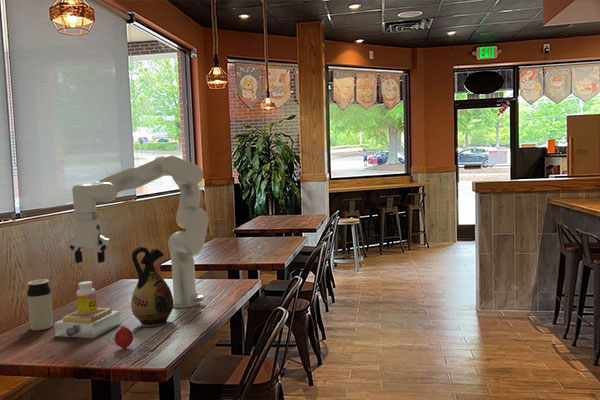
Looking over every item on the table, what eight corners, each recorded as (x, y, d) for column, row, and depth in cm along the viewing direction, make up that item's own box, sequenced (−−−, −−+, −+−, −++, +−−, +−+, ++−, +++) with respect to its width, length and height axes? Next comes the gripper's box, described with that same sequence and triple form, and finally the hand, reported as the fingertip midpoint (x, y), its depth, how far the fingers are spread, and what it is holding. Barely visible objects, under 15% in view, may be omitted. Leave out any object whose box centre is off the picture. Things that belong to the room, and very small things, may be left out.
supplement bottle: (90, 319, 183) (87, 284, 182) (74, 319, 184) (71, 284, 183) (101, 313, 190) (98, 280, 189) (85, 313, 191) (82, 280, 190)
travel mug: (58, 324, 195) (54, 279, 194) (41, 331, 187) (37, 284, 186) (42, 323, 197) (38, 278, 196) (25, 330, 190) (21, 283, 189)
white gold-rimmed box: (120, 323, 193) (119, 307, 192) (89, 340, 175) (88, 321, 175) (84, 322, 197) (83, 306, 196) (51, 338, 179) (49, 320, 179)
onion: (118, 346, 168) (116, 323, 167) (135, 345, 168) (134, 321, 168) (113, 352, 162) (111, 328, 161) (131, 351, 162) (129, 327, 162)
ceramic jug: (161, 315, 202) (157, 241, 200) (182, 322, 191) (177, 244, 189) (121, 325, 190) (115, 247, 188) (140, 334, 179) (134, 251, 177)
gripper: (112, 215, 188) (116, 260, 190) (72, 216, 193) (77, 260, 194) (99, 217, 181) (104, 264, 183) (59, 219, 185) (63, 264, 187)
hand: (90, 262), depth 188 cm, fingers open, 9 cm apart
